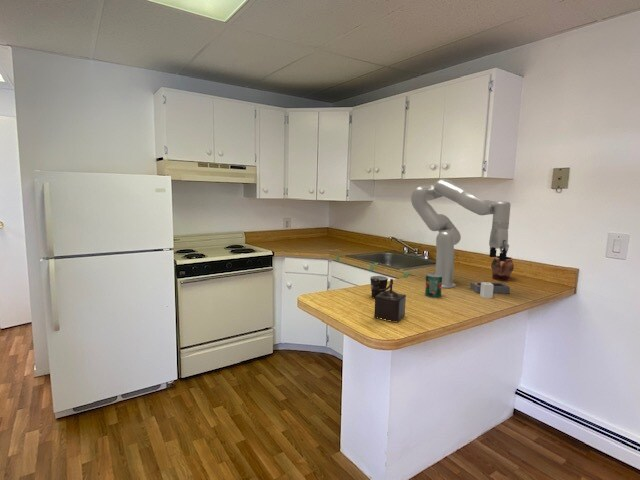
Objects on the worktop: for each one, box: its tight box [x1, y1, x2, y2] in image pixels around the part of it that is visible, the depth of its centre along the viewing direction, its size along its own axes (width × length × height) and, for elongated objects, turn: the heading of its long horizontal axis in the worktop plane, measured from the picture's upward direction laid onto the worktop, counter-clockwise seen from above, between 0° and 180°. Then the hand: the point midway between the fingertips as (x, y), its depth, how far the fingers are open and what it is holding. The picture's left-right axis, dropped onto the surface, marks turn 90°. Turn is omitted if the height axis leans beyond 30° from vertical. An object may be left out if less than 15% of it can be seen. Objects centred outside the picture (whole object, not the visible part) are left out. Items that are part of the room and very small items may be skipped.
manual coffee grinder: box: [370, 278, 407, 322], centre depth 150 cm, size 16×11×18 cm
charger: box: [479, 281, 494, 299], centre depth 183 cm, size 4×4×7 cm
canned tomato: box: [424, 272, 442, 299], centre depth 184 cm, size 8×8×11 cm
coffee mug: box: [369, 275, 389, 299], centre depth 181 cm, size 12×9×10 cm
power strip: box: [469, 281, 511, 295], centre depth 198 cm, size 17×16×4 cm
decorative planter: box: [490, 255, 514, 281], centre depth 219 cm, size 20×12×14 cm, turn 155°
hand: (497, 258), depth 185 cm, fingers open, 9 cm apart
